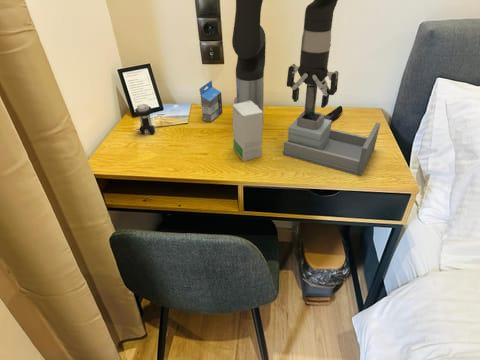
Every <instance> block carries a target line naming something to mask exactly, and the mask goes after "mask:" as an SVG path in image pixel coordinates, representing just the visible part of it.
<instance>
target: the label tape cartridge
mask: <svg viewBox="0 0 480 360" xmlns="http://www.w3.org/2000/svg"><path fill="white" fill-rule="evenodd" d="M199 93H200V94H199V95H200V104H201V113H202V115H201V116H202V121H203V122H209V123H212V122H214V121H215V120H216V118H218V117H219V116H220V115H221V114H222V113H223V102H222V101H223V100H222V99H223V98H222V92H221V91H220V90H219V89H216V88H215V87H214V86H213V80H210V81H208V82H207V83H206V84H204V85H203V86H201V87H200V88H199Z"/></svg>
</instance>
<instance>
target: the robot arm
mask: <svg viewBox="0 0 480 360" xmlns="http://www.w3.org/2000/svg"><path fill="white" fill-rule="evenodd" d="M338 2H339V1H338V0H313V1H311V2H310V3H309V4H308V5H307V6H306V8H305V11H304V19H303V30H302V31H303V32H302V36H301V44H300V45H301V46H300V57H299V66H297V65H296V64H295V63H292V64H290V66H288V70H287V79H286V87H290V88H291V89H292V95H291V99H292V100H293V102H294V103H297V102H298V101H299V99H300V98H299V97H300V86H301V85H302V84H303V83H304V84H305V85H307V84H311V85H313V86H316V85H317V88H318V89H319V90H320V91H321V92H322V97H321V105H320V108H322V109H324V108H325V107H327V105H328V104H329V99H330V96H334V95H335V94H336V93H337V91H338V85H339V84H338V83H339V74H340V73H339V71H337V70H335V71H329V69H328V65H329V57H330V52H331V51H330V50H331V47H332V43H331V42H332V28H333V19H334V12H335V9H336V6H337V3H338ZM263 3H264V0H235V15H234V22H233V29H232V30H233V31H232V40H231V43H232V44H231V45H232V48H233V49H232V50H233V51H234V53H235V54H236V56H237V60H236V66H235V84H236V85H235V86H236V87H235V88H236V89H235V90H236V96H235V98H234V99H233V101H234V104H237V103H242V102H247V101H252V102H253V103H254V104H255V105H257V106H258V108H259V109H260V110H262V111H263V112H264V99H265V98H264V92H265V90H264V85H265V84H264V83H265V81H264V79H265V75H264V72H265V65H266V49H267V48H266V47H267V46H266V44H267V43H266V42H267V41H266V40H267V39H266V32H265V30H264V28H263V27H262V26H261V13H262V6H263ZM297 73H298V75H299V76H300V77H299V79H298V80H297V81H296V82H295V75H296V74H297ZM327 77H328V80H329V81H330V88H329V86H328V82H327V80H326V78H327Z"/></svg>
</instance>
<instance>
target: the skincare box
mask: <svg viewBox="0 0 480 360" xmlns="http://www.w3.org/2000/svg"><path fill="white" fill-rule="evenodd" d="M263 125H264V110H263V111H262V110H260V109H259V108H258V106H257V105H255V104H254V103H253V102H252V101H247V102H242V103H237V104H235V103H233V104H232V133H233V134H232V136H233V137H232V139H233V140H232V143H233V150H234V152H235V153H236V154H237V156H239V158H240V159H241V160H242V161H243V162H247V161H250V160H254V159H256V158H257V159H258V158H261V157H262V148H263V147H262V145H263Z"/></svg>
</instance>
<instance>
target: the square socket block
mask: <svg viewBox="0 0 480 360" xmlns="http://www.w3.org/2000/svg"><path fill="white" fill-rule="evenodd" d="M304 112H305V109H304V110H303V111H302V113H301V114H299V115H298V116H297V118H296V119H294V121H293V122H292V123H291V124H290V125H289V127H288V132H287V142H291V143H295V144H299V145H303V146H307V147H311V148H315V149H318V150H322V149H323V148H324V146H325V145H326V143H327V142H328V141H329V136H330V129H332V122H333V120H328V119H325V116H326V114H323V113H322V112H317V111H315V114H314V121H313V120H309V119H304Z"/></svg>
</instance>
